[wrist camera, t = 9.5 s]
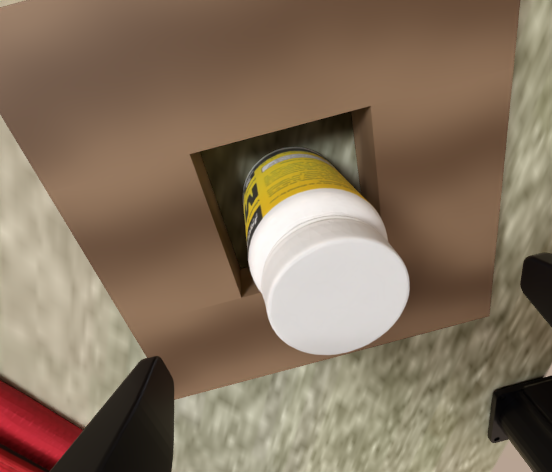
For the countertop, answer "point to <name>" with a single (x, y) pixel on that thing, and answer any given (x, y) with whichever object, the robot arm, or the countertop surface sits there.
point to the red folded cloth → (31, 433)
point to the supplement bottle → (320, 255)
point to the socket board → (250, 123)
